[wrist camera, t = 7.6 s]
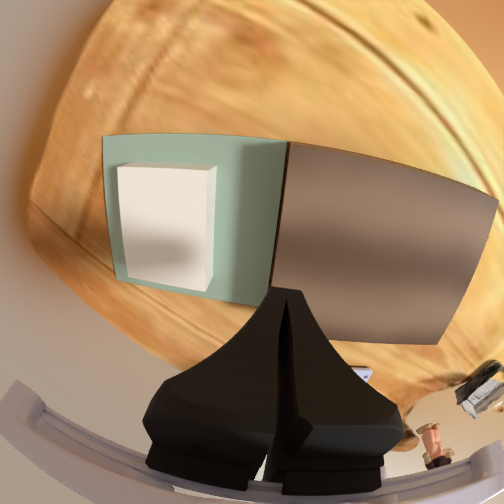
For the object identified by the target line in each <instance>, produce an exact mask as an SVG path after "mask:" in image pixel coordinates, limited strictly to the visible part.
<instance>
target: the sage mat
mask: <svg viewBox="0 0 504 504" xmlns="http://www.w3.org/2000/svg"><path fill="white" fill-rule="evenodd" d="M286 147H287V141H283V140H275V139H266V138H257V137H246V136H233V135H216V134H189V133H153V134H126V135H110V136H103V169H104V187H105V200H106V211H107V220H108V229H109V236H110V244H111V250H112V257H113V263H114V268H115V274H116V279H117V280H119V281H124V282H128V283H133V284H137V285H142V286H147V287H151V288H156V289H161V290H166V291H171V292H176V293H182V294H187V295H192V296H198V297H203V298H209V299H215V300H221V301H227V302H233V303H239V304H245V305H252V306H260V304H261V302H262V301H263V299H264V297H265V295H266V293H267V291H268V284H269V277H270V270H271V263H272V256H273V249H274V242H275V234H276V227H277V219H278V212H279V204H280V196H281V188H282V180H283V172H284V164H285V155H286ZM131 162H170V163H191V164H207V165H217V174H216V193H215V216H214V246H213V277H212V279H211V281H210V283H209V285H208V287H207V290H206V292H203V291H198V290H192V289H186V288H181V287H176V286H170V285H165V284H160V283H155V282H150V281H145V280H140V279H135V278H130V277H128V272H127V266H126V259H125V252H124V245H123V237H122V228H121V218H120V206H119V193H118V173H117V167H119V166H122V165H125V164H128V163H131Z"/></svg>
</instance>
